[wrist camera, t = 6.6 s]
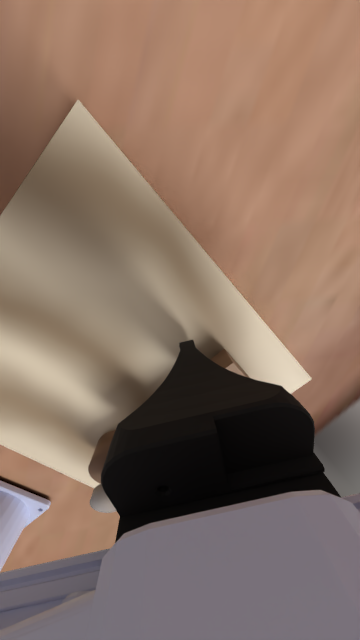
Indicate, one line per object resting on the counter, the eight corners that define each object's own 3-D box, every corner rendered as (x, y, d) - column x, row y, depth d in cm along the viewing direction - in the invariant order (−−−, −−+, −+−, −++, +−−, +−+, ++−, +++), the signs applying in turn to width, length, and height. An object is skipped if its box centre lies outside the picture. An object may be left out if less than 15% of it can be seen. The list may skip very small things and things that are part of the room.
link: (122, 468, 14) (109, 526, 11) (87, 446, 13) (62, 504, 10) (251, 379, 12) (280, 421, 9) (221, 345, 11) (242, 379, 8)
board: (132, 489, 18) (130, 505, 17) (-90, 377, 12) (-117, 389, 11) (300, 369, 14) (311, 379, 13) (90, 121, 8) (77, 99, 7)
